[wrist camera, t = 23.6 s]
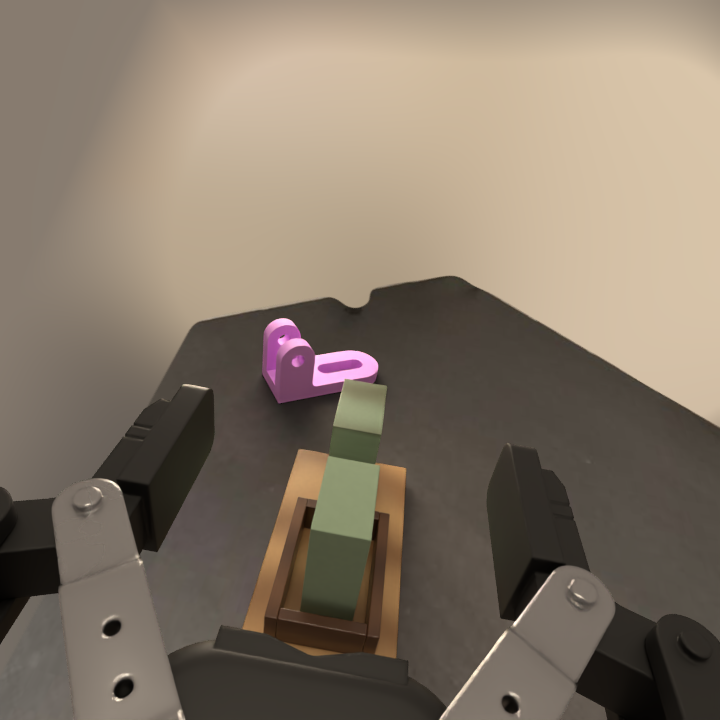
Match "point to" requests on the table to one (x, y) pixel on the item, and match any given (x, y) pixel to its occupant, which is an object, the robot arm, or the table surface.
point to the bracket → (308, 365)
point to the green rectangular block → (340, 538)
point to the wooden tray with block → (292, 531)
